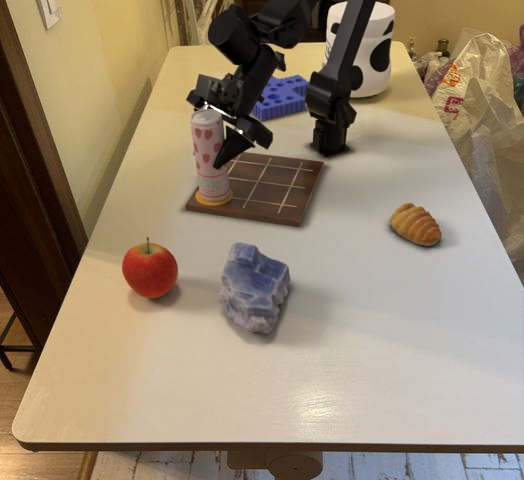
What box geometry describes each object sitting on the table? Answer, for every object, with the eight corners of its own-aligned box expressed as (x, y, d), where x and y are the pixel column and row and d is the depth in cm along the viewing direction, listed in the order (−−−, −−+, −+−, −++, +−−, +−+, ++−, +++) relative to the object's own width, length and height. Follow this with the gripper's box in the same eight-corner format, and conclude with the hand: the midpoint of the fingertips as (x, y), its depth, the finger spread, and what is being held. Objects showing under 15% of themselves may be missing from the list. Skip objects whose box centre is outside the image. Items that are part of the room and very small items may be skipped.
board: (223, 154, 112) (223, 148, 111) (323, 166, 108) (324, 160, 106) (186, 210, 98) (185, 203, 97) (299, 227, 94) (299, 220, 92)
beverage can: (196, 201, 97) (184, 122, 86) (204, 185, 101) (194, 107, 90) (225, 203, 96) (217, 124, 85) (233, 187, 100) (226, 109, 89)
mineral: (224, 230, 78) (290, 232, 76) (234, 274, 85) (294, 277, 84) (201, 302, 70) (274, 307, 68) (214, 344, 77) (280, 349, 75)
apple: (119, 294, 82) (103, 243, 75) (157, 269, 86) (145, 217, 79) (153, 317, 79) (140, 265, 71) (191, 289, 83) (182, 237, 75)
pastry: (449, 240, 90) (454, 221, 87) (420, 253, 88) (424, 235, 85) (412, 214, 95) (416, 196, 92) (383, 226, 93) (387, 208, 90)
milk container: (305, 89, 134) (308, 8, 121) (355, 72, 141) (363, -6, 127) (351, 112, 125) (359, 27, 111) (402, 93, 131) (416, 11, 118)
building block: (223, 126, 121) (222, 115, 119) (206, 86, 137) (205, 76, 135) (325, 112, 124) (326, 102, 123) (297, 75, 140) (297, 65, 138)
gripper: (187, 38, 87) (144, 123, 91) (257, 68, 78) (206, 162, 81) (228, 75, 97) (187, 150, 100) (295, 106, 87) (247, 189, 91)
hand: (204, 162), depth 93 cm, fingers closed on beverage can, 6 cm apart
